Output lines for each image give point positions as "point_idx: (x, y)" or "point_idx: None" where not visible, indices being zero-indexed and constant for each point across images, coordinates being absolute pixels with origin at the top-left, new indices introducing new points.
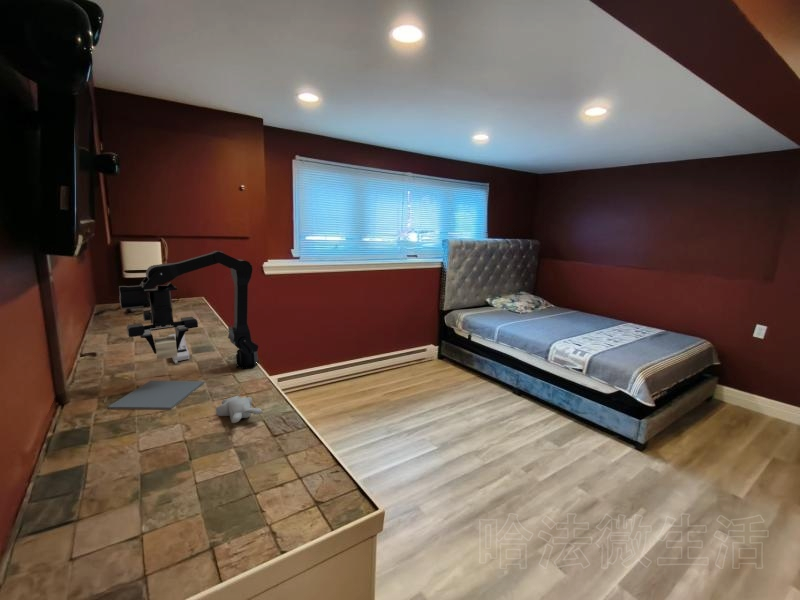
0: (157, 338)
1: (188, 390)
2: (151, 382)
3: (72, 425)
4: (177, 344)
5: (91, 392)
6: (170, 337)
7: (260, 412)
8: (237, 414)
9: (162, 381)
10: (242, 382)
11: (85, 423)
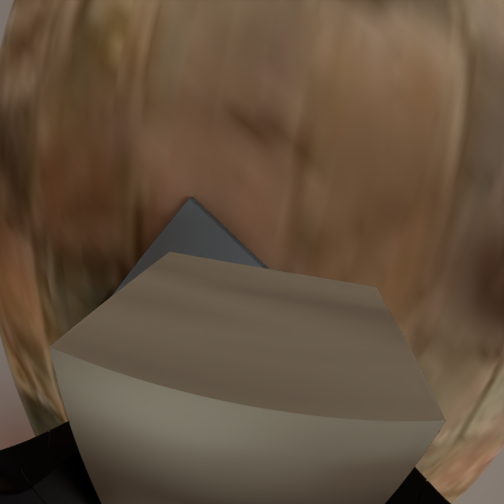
0: (101, 413)
1: None
2: (191, 232)
3: (29, 382)
4: None
5: (16, 163)
6: (330, 491)
7: None
8: None
9: (240, 260)
10: (463, 440)
11: (48, 396)
